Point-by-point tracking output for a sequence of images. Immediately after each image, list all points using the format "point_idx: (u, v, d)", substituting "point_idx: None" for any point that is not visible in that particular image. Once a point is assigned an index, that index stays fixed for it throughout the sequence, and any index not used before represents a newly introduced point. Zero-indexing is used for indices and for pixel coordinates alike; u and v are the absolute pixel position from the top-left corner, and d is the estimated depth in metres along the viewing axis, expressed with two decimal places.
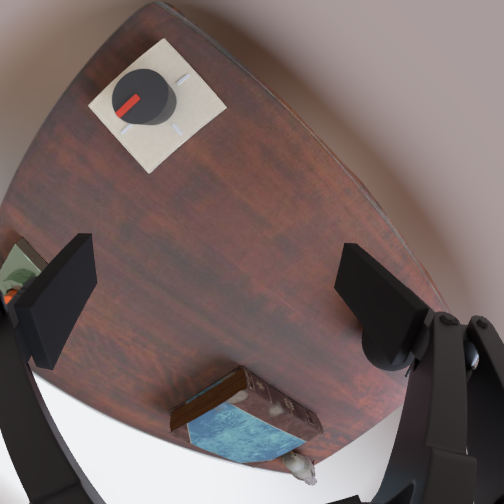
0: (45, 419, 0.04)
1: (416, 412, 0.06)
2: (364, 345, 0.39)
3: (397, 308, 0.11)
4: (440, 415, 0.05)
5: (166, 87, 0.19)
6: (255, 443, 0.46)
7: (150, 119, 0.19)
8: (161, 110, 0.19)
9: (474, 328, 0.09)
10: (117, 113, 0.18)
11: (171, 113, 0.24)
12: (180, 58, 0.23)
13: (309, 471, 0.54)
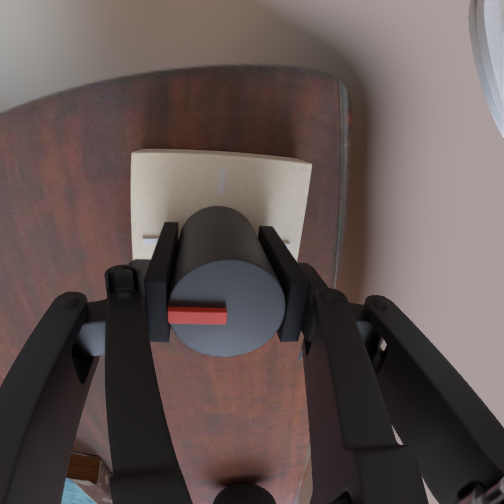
0: (160, 401, 0.05)
1: (323, 406, 0.07)
2: None
3: (282, 283, 0.12)
4: (352, 408, 0.06)
5: (273, 332, 0.11)
6: (72, 502, 0.29)
7: (211, 354, 0.11)
8: (236, 354, 0.12)
9: (373, 312, 0.09)
10: (171, 315, 0.10)
11: None
12: (301, 214, 0.17)
13: None
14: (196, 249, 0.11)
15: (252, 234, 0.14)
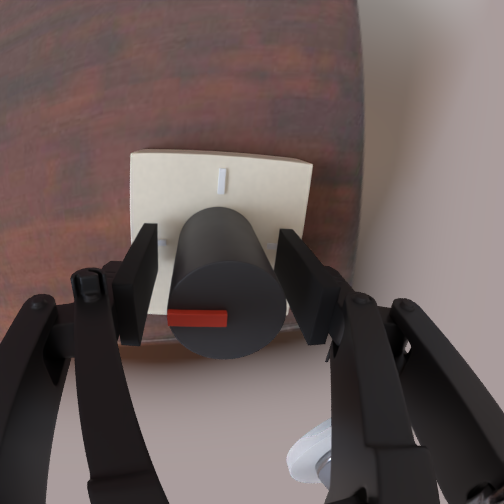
0: (131, 403, 0.05)
1: (347, 405, 0.07)
2: None
3: (311, 287, 0.12)
4: (375, 408, 0.06)
5: (274, 334, 0.11)
6: None
7: (211, 357, 0.11)
8: (236, 356, 0.12)
9: (399, 314, 0.09)
10: (171, 317, 0.10)
11: None
12: None
13: None
14: (196, 251, 0.11)
15: (252, 235, 0.14)
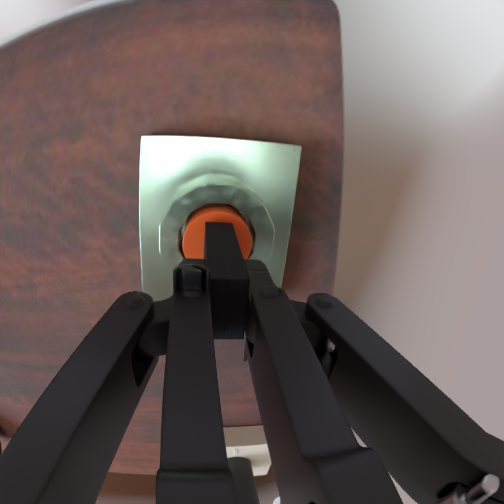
0: (218, 401, 0.06)
1: (274, 412, 0.06)
2: None
3: None
4: (305, 414, 0.05)
5: None
6: None
7: None
8: None
9: (316, 313, 0.09)
10: None
11: None
12: None
13: None
14: None
15: (249, 478, 0.27)
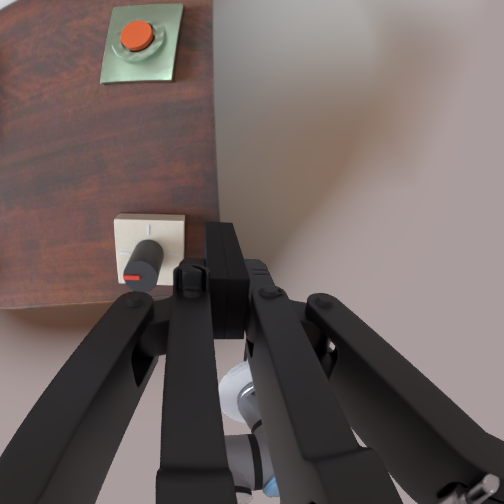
0: (218, 401, 0.06)
1: (274, 412, 0.06)
2: None
3: None
4: (305, 414, 0.05)
5: (155, 284, 0.35)
6: None
7: (137, 291, 0.35)
8: (145, 291, 0.35)
9: (316, 313, 0.09)
10: (123, 276, 0.34)
11: None
12: (163, 283, 0.43)
13: None
14: (132, 257, 0.35)
15: (154, 251, 0.37)
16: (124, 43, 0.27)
